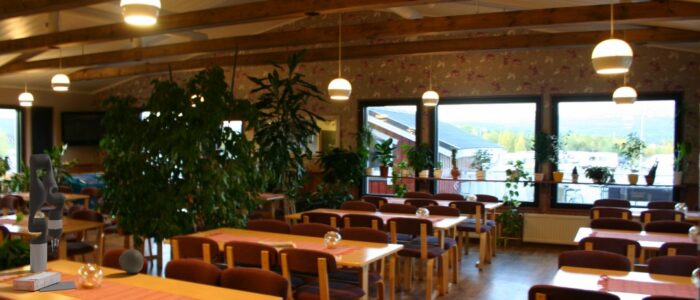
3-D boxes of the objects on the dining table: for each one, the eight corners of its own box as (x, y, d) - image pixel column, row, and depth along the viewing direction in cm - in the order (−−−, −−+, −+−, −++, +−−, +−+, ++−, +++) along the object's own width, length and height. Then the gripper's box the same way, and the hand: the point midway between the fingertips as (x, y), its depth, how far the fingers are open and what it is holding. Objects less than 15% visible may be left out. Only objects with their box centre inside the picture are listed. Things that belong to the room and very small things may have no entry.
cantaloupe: (130, 270, 380) (130, 246, 380) (148, 272, 375) (148, 248, 375) (114, 274, 367) (114, 250, 367) (132, 277, 362) (132, 252, 361)
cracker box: (41, 281, 347) (12, 290, 327) (40, 270, 347) (12, 279, 327) (61, 281, 344) (34, 291, 323) (61, 271, 344) (33, 280, 323)
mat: (39, 284, 340) (39, 283, 340) (74, 281, 348) (74, 280, 348) (39, 292, 324) (39, 291, 324) (76, 288, 332) (76, 287, 332)
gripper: (47, 225, 350) (47, 255, 351) (48, 229, 338) (47, 259, 339) (61, 225, 354) (61, 254, 354) (62, 228, 342) (62, 258, 343)
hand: (54, 256), depth 347 cm, fingers closed
